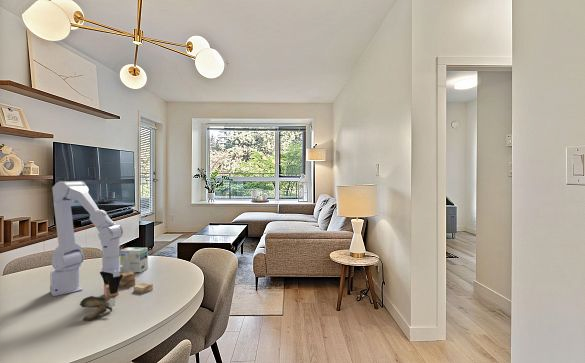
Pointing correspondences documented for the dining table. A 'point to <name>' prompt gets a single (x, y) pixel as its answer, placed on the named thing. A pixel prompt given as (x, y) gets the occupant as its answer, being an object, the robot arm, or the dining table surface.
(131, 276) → the tower top
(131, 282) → the tower base
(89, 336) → the dining table surface
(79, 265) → the robot arm
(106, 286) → the terracotta cube
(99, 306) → the eagle figurine
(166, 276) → the dining table surface
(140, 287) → the slab
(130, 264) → the light bulb box
